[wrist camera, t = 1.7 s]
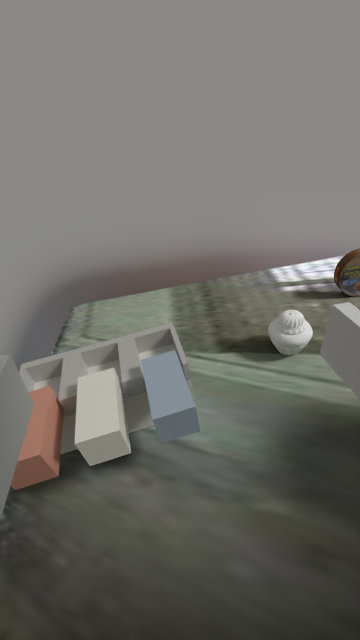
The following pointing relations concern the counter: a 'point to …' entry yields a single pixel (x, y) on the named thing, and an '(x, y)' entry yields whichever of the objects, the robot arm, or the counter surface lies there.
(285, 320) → the muffin
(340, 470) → the counter surface
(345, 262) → the tin
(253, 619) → the counter surface
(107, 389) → the ivory key
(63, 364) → the grey slotted rack
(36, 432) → the terracotta key
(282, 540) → the counter surface
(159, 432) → the blue-grey rectangular block
